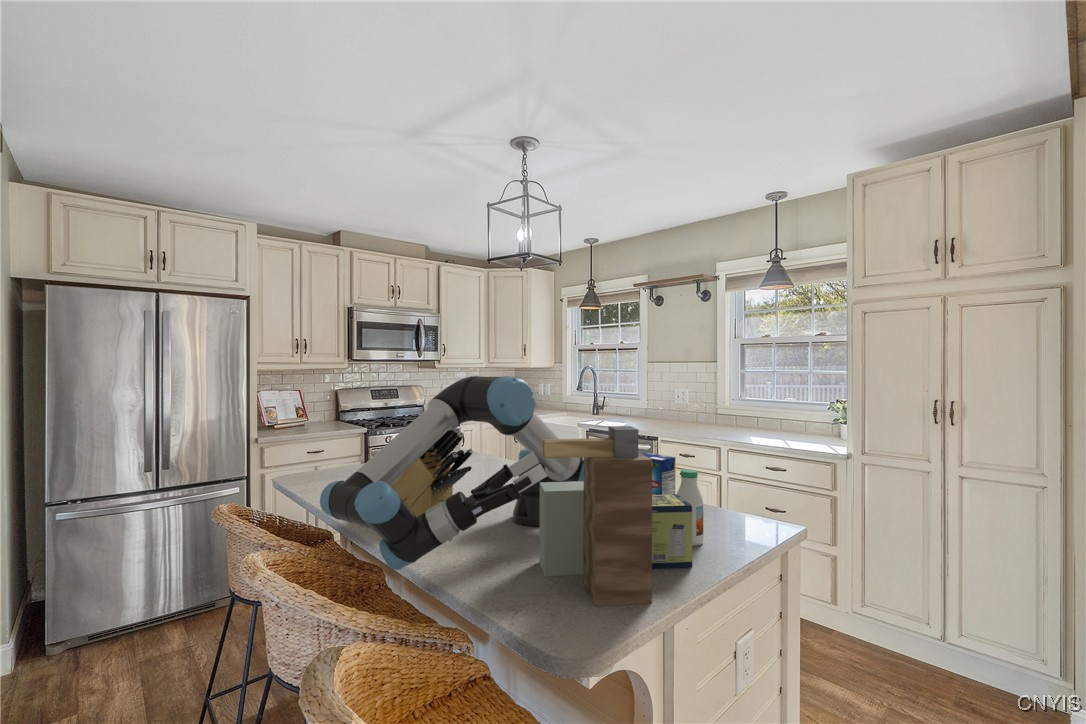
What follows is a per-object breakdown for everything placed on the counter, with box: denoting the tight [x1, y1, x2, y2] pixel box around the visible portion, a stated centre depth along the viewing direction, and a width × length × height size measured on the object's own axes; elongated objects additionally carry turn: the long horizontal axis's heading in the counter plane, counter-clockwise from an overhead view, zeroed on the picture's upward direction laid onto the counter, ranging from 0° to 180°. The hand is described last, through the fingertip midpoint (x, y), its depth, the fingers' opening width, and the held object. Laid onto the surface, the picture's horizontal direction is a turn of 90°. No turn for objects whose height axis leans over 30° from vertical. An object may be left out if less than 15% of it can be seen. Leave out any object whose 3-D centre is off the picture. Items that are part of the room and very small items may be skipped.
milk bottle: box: [675, 468, 704, 547], centre depth 144 cm, size 8×8×20 cm
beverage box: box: [640, 452, 677, 495], centre depth 155 cm, size 7×11×22 cm, turn 40°
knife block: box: [390, 427, 474, 517], centre depth 169 cm, size 11×35×31 cm, turn 61°
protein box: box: [652, 493, 693, 570], centre depth 130 cm, size 10×16×16 cm
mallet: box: [543, 425, 639, 458], centre depth 111 cm, size 6×20×6 cm, turn 98°
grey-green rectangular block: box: [538, 481, 584, 578], centre depth 125 cm, size 9×13×20 cm
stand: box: [582, 451, 653, 608], centre depth 112 cm, size 12×12×30 cm
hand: (540, 462), depth 109 cm, fingers open, 13 cm apart
